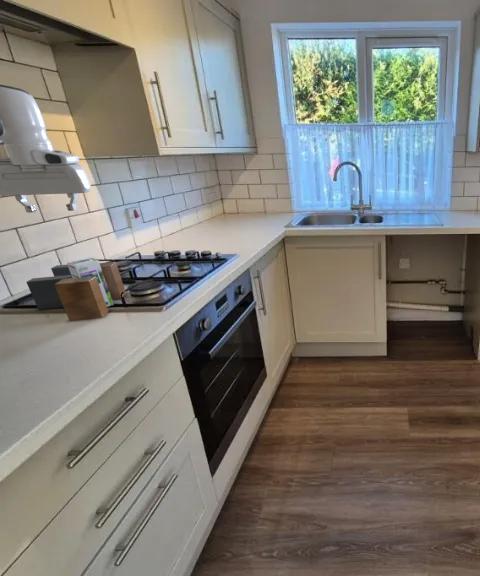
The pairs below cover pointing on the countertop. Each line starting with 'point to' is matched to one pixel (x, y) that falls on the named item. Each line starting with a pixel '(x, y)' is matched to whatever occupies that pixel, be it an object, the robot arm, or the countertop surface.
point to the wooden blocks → (89, 293)
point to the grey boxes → (48, 288)
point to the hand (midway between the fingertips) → (52, 211)
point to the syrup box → (91, 274)
